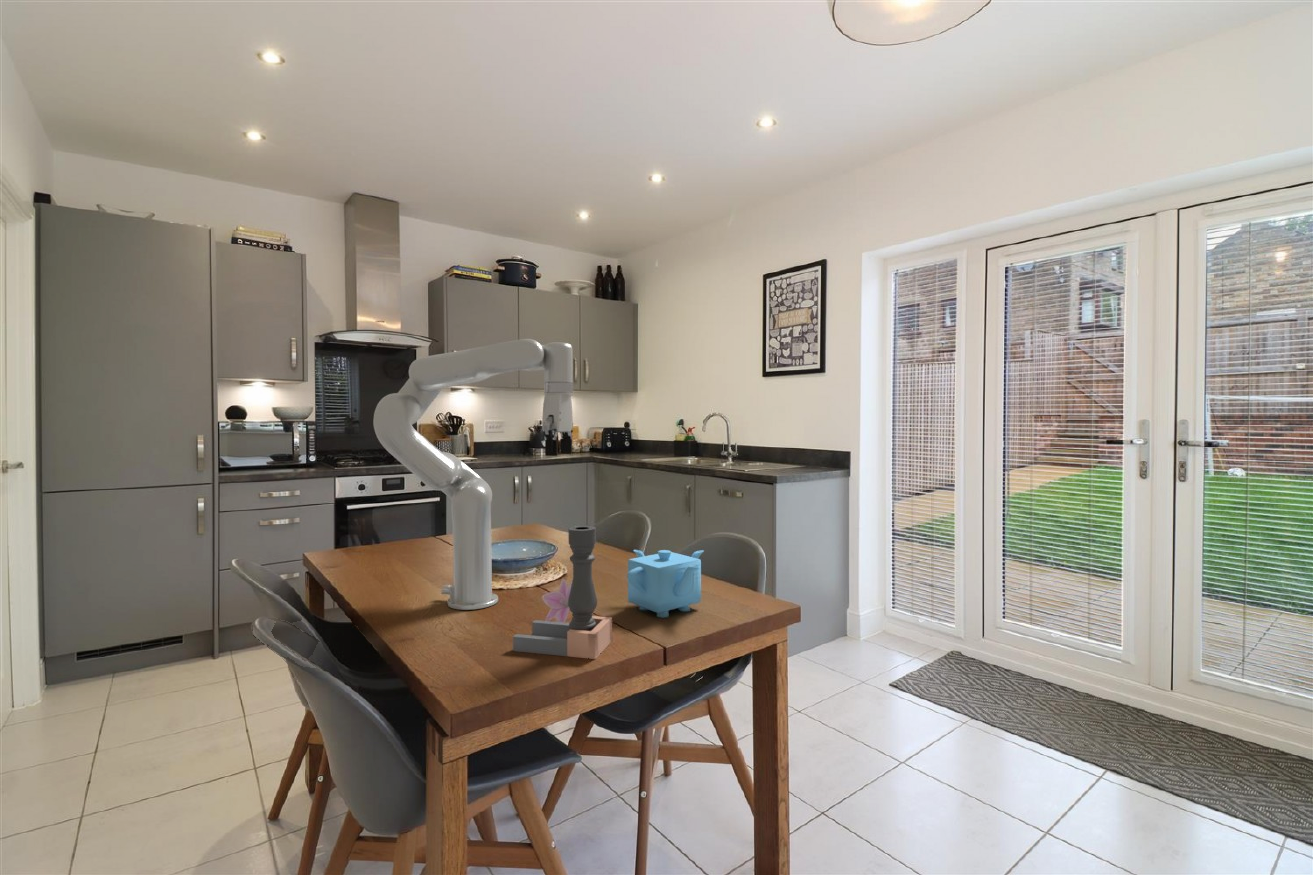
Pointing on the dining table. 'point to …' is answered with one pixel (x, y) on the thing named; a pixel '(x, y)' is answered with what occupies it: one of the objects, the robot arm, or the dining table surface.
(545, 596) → the lily
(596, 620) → the guide channel
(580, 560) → the candle holder
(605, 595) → the dining table surface
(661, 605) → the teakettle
